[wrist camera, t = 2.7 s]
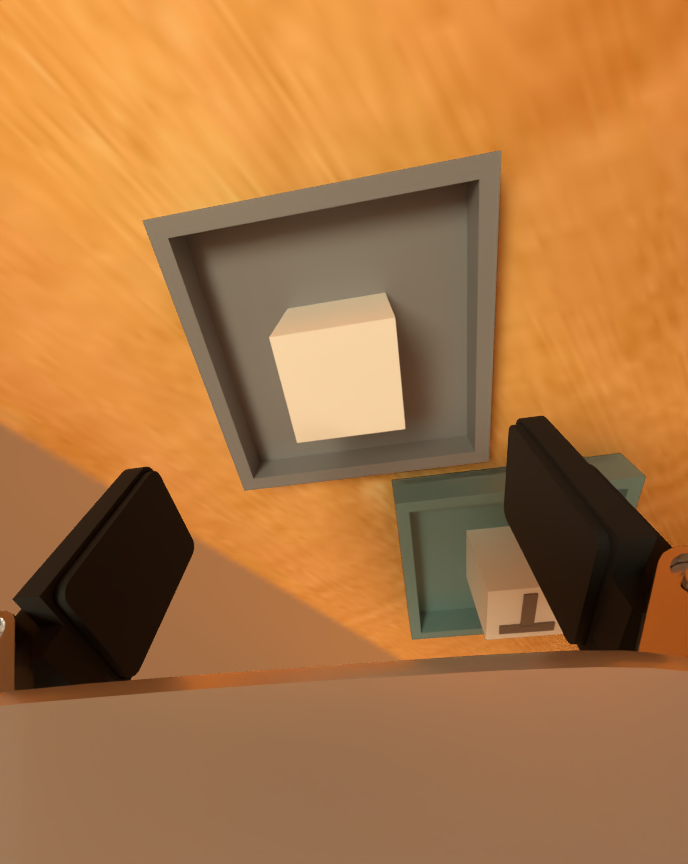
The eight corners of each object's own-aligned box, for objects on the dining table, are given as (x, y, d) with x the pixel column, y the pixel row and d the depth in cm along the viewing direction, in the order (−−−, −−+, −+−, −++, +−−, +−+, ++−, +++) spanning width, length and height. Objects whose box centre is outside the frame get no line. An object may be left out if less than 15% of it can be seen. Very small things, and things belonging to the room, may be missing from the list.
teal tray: (620, 453, 24) (645, 476, 22) (584, 597, 31) (600, 625, 29) (391, 480, 25) (395, 503, 23) (408, 612, 33) (411, 639, 31)
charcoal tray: (482, 157, 16) (501, 150, 14) (477, 439, 24) (489, 461, 22) (166, 219, 18) (142, 220, 16) (253, 467, 25) (244, 490, 23)
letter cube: (539, 523, 26) (576, 585, 22) (532, 570, 29) (565, 635, 25) (466, 530, 27) (488, 593, 22) (466, 576, 29) (486, 641, 25)
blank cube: (385, 292, 19) (395, 317, 14) (394, 384, 21) (405, 429, 17) (287, 308, 19) (269, 337, 15) (307, 396, 22) (297, 443, 17)
